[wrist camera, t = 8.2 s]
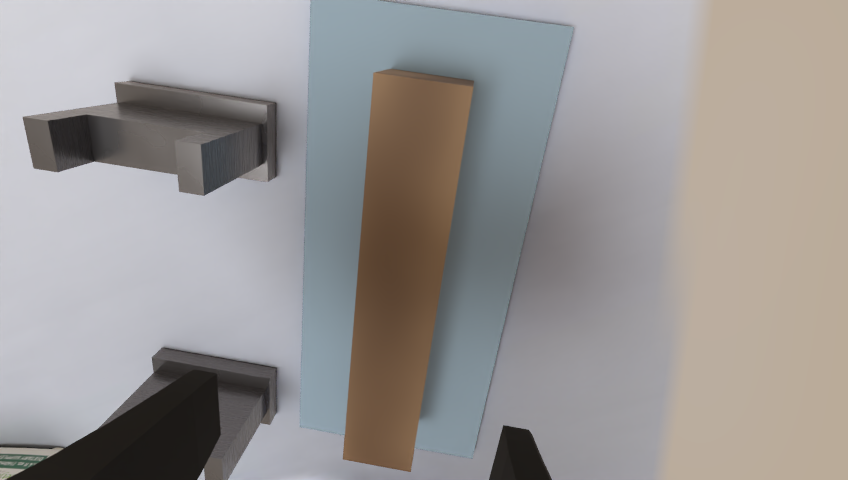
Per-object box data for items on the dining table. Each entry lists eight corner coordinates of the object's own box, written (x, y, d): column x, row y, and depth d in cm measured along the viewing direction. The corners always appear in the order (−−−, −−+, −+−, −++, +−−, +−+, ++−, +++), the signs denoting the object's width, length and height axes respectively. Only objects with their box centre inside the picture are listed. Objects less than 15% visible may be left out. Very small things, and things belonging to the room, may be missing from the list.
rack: (275, 103, 18) (205, 121, 13) (276, 413, 24) (228, 498, 20) (129, 81, 18) (11, 92, 13) (167, 393, 24) (96, 473, 20)
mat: (570, 27, 16) (574, 27, 15) (472, 449, 24) (472, 458, 23) (316, -7, 16) (310, -10, 16) (303, 418, 24) (299, 426, 23)
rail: (474, 80, 16) (473, 86, 13) (418, 420, 22) (410, 471, 20) (391, 68, 16) (373, 72, 14) (359, 409, 23) (342, 459, 20)
